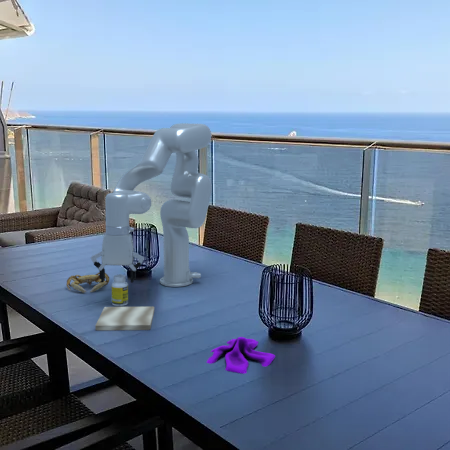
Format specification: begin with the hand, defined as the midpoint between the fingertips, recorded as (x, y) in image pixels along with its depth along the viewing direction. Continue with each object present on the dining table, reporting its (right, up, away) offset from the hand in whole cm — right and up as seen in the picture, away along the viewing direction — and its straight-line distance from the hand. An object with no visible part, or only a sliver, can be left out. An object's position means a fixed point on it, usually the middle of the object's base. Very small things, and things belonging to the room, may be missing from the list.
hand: (117, 281), depth 179 cm
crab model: (-14, -5, +19) cm, 24 cm away
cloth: (+38, -17, -37) cm, 56 cm away
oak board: (+5, -11, -12) cm, 17 cm away
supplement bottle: (0, -8, +2) cm, 8 cm away
